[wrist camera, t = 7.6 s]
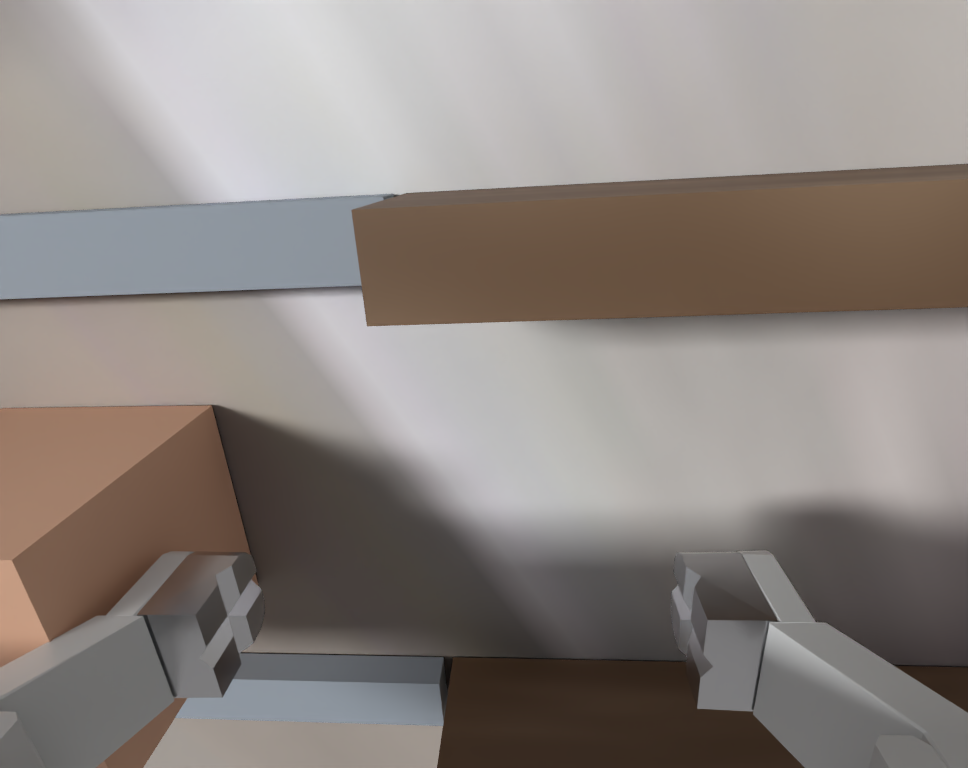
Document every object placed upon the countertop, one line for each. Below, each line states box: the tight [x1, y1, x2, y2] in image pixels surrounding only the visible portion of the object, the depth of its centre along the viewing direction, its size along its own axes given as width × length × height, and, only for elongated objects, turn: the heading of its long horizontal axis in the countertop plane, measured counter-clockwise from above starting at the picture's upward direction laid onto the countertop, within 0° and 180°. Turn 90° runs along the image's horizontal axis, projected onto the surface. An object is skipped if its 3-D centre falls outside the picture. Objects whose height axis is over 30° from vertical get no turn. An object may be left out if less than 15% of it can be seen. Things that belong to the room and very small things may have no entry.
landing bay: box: [0, 194, 448, 726], centre depth 13 cm, size 13×12×1 cm
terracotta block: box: [0, 405, 259, 768], centre depth 11 cm, size 5×5×5 cm
